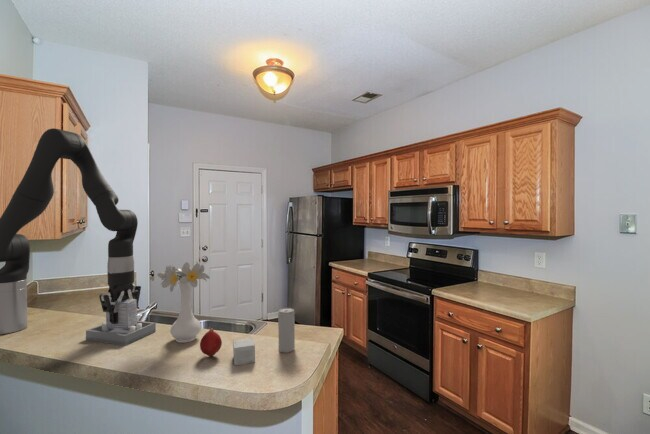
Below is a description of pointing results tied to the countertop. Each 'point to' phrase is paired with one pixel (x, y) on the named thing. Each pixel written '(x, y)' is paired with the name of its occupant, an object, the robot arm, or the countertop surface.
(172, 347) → the countertop surface
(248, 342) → the small box
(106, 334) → the tray
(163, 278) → the flower vase
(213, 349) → the onion
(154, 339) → the countertop surface
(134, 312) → the medicine box
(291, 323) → the beverage can
